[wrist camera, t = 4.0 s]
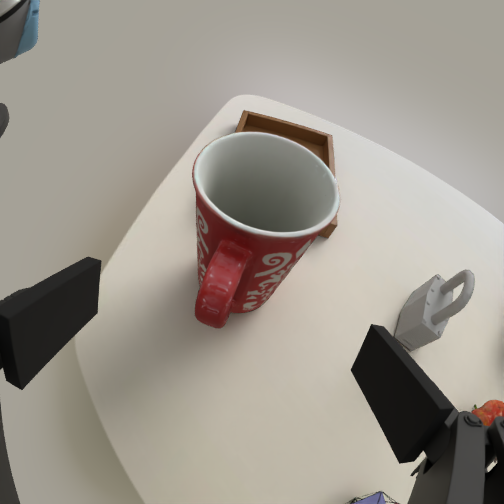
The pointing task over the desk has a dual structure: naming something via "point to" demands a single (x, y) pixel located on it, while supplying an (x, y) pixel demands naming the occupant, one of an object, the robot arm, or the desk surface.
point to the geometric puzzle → (372, 499)
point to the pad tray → (300, 134)
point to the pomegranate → (489, 412)
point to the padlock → (432, 309)
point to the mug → (255, 218)
